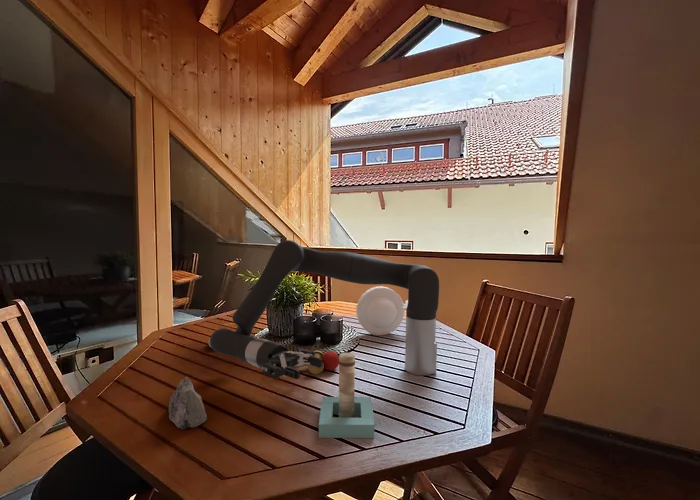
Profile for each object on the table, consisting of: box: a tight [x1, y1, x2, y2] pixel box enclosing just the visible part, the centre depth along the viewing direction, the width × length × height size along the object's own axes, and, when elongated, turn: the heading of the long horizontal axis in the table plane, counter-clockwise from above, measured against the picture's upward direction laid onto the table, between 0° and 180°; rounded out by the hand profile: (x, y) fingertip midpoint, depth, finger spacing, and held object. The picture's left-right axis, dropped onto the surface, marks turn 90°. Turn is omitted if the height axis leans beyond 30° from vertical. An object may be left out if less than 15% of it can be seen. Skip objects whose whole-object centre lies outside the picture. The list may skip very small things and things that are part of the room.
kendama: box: [293, 350, 339, 375], centre depth 112 cm, size 8×6×18 cm
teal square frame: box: [318, 396, 375, 439], centre depth 83 cm, size 12×12×3 cm
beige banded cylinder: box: [338, 352, 356, 418], centre depth 82 cm, size 4×4×16 cm
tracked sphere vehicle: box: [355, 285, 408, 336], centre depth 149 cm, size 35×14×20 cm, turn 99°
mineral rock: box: [167, 376, 208, 430], centre depth 85 cm, size 13×11×10 cm
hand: (310, 369), depth 88 cm, fingers open, 8 cm apart
